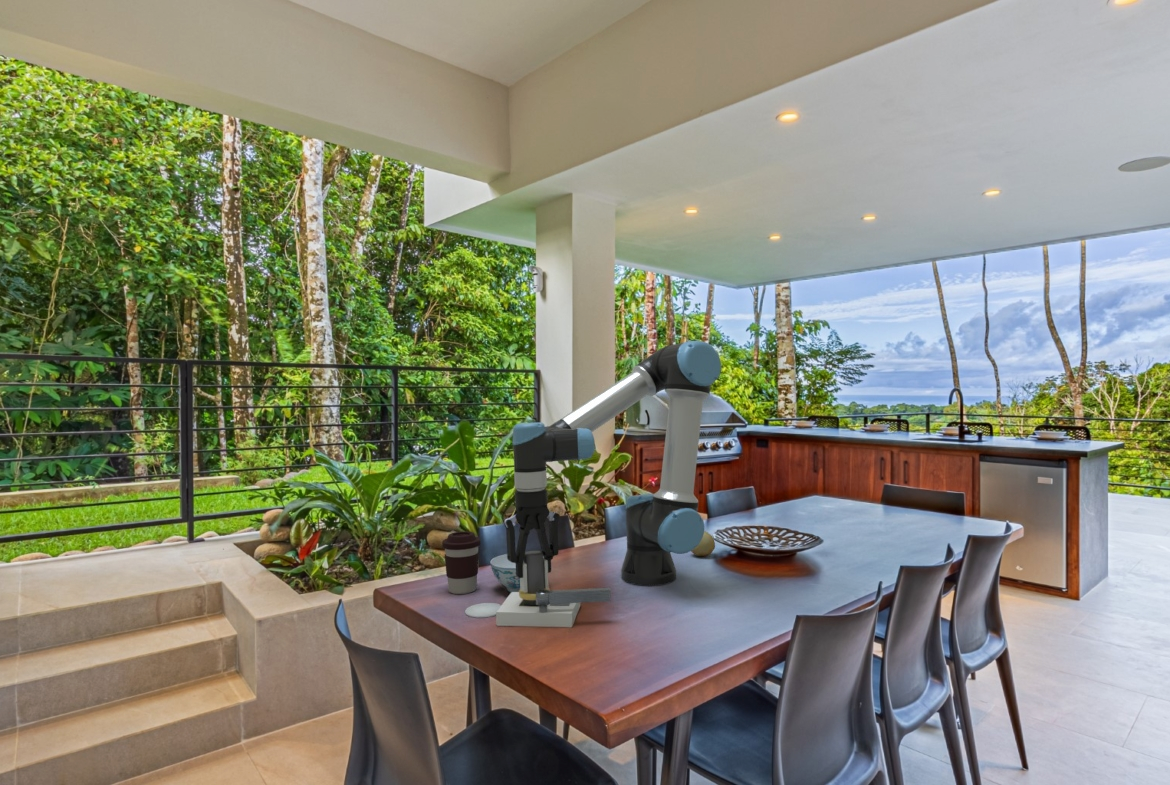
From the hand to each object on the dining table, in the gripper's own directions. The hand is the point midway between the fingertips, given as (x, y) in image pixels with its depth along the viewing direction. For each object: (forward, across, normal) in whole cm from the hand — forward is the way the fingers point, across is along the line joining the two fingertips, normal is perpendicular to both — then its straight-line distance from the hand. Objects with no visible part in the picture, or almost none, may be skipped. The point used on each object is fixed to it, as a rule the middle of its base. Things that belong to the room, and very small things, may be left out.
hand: (534, 588), depth 140 cm
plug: (+5, 0, 0) cm, 5 cm away
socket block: (+6, -1, +1) cm, 6 cm away
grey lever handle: (+1, -5, +10) cm, 11 cm away
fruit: (+7, -64, -19) cm, 68 cm away
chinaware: (+6, -4, -20) cm, 22 cm away
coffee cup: (+6, +9, -27) cm, 29 cm away
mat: (+6, +9, -9) cm, 14 cm away
